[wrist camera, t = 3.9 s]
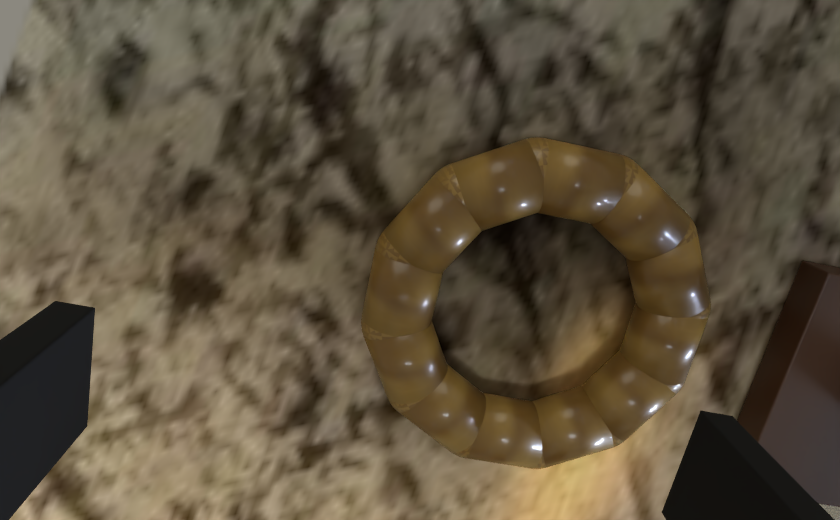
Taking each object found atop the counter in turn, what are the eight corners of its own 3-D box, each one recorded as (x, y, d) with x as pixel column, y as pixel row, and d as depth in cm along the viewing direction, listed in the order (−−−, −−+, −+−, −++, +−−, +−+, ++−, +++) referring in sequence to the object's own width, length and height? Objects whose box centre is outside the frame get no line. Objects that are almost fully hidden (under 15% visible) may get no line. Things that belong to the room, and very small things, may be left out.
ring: (733, 176, 22) (773, 189, 20) (631, 461, 25) (655, 501, 23) (402, 105, 21) (403, 110, 18) (341, 414, 24) (335, 451, 22)
